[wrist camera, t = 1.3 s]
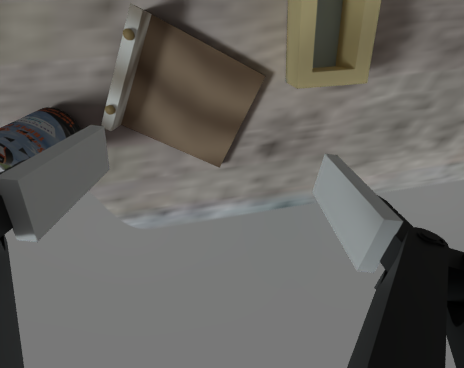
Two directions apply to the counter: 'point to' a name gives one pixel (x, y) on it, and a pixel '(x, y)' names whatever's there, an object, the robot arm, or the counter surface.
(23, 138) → the beverage can
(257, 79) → the wall board
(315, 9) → the frame
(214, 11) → the counter surface
